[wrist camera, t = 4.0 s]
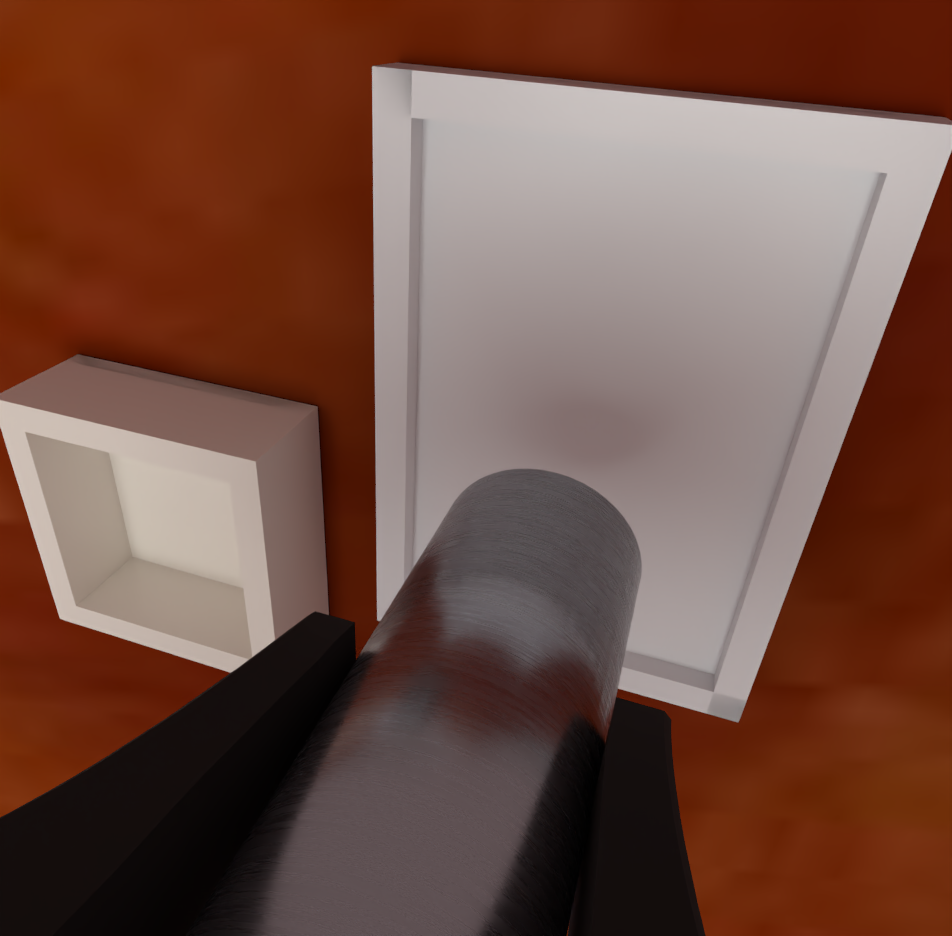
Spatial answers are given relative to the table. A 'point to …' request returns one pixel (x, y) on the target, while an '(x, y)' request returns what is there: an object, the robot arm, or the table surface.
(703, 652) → the tray
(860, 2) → the table surface
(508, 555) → the steel pin
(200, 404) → the square socket block
